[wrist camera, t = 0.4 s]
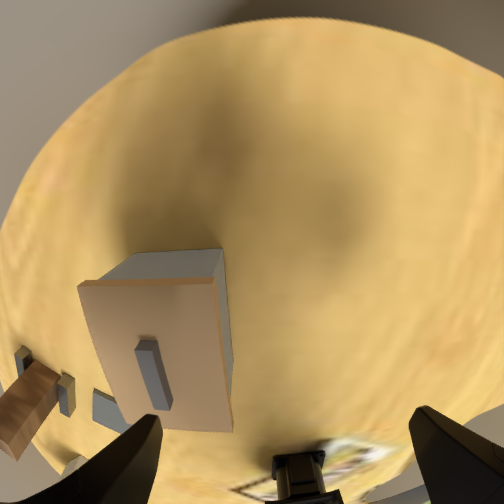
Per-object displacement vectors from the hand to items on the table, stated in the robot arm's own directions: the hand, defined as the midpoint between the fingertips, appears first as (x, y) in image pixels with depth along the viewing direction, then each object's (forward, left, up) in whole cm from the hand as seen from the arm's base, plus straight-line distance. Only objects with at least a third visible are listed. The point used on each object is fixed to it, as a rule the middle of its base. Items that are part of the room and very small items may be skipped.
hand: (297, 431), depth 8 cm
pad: (-16, +18, -14) cm, 28 cm away
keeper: (-12, +27, -14) cm, 33 cm away
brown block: (-12, +27, -14) cm, 33 cm away
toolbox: (-2, +7, -14) cm, 16 cm away
